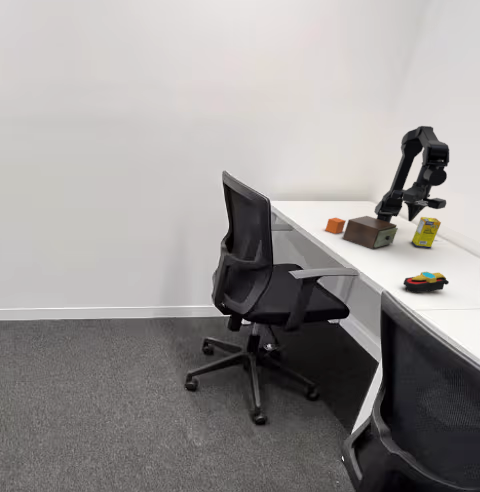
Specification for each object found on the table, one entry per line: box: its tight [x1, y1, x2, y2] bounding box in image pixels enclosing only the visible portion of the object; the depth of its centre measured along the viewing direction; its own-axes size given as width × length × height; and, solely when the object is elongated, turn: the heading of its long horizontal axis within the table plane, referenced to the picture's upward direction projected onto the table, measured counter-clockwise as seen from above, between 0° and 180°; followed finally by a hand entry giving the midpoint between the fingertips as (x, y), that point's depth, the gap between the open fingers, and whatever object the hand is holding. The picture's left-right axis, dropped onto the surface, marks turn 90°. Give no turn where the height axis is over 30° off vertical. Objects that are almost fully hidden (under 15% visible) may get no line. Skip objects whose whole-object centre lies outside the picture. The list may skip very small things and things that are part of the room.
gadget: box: [403, 271, 450, 293], centre depth 185 cm, size 6×13×6 cm, turn 95°
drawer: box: [374, 226, 398, 248], centre depth 224 cm, size 14×11×6 cm
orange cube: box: [325, 217, 346, 235], centre depth 236 cm, size 5×5×5 cm
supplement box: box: [410, 216, 442, 249], centre depth 223 cm, size 6×6×11 cm
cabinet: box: [342, 215, 397, 250], centre depth 225 cm, size 14×13×8 cm
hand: (409, 221), depth 214 cm, fingers closed
